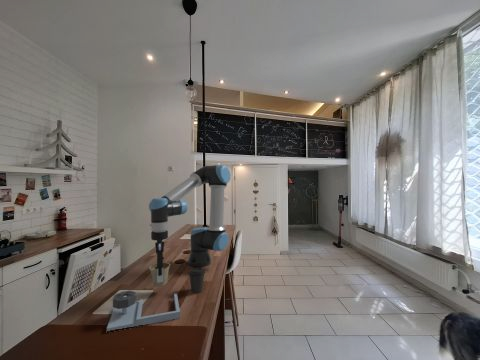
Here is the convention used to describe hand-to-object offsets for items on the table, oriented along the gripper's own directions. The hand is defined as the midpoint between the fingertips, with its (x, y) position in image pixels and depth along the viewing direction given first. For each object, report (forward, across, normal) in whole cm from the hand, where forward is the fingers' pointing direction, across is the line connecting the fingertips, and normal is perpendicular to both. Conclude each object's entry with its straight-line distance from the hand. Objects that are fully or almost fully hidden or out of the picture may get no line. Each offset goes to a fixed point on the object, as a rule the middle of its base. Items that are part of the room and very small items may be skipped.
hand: (160, 277), depth 106 cm
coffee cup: (+8, +4, +17) cm, 19 cm away
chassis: (+7, +16, -5) cm, 19 cm away
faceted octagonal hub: (+1, +16, -13) cm, 21 cm away
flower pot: (+3, 0, 0) cm, 3 cm away
